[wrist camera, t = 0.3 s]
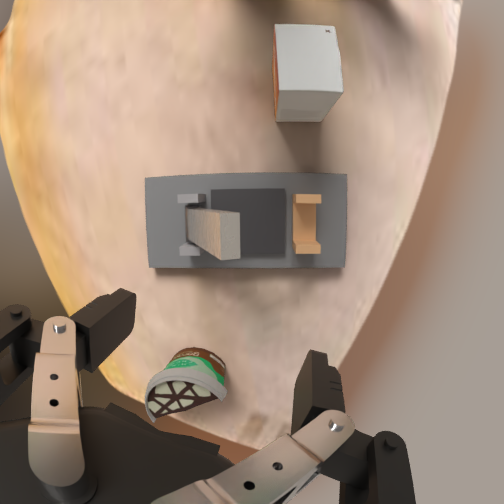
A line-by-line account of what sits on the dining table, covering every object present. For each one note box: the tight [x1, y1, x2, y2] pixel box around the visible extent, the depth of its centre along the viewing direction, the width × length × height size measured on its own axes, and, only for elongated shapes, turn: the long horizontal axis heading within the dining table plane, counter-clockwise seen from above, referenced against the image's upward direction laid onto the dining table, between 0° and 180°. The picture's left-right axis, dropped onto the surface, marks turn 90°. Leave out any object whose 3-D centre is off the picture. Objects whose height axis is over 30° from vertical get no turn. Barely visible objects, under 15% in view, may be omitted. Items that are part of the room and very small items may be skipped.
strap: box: [185, 205, 240, 260], centre depth 30 cm, size 4×2×15 cm, turn 1°
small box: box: [272, 24, 344, 122], centre depth 30 cm, size 8×6×13 cm
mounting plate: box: [145, 173, 347, 268], centre depth 37 cm, size 12×26×6 cm, turn 90°
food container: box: [145, 347, 228, 423], centre depth 39 cm, size 12×6×10 cm, turn 118°
